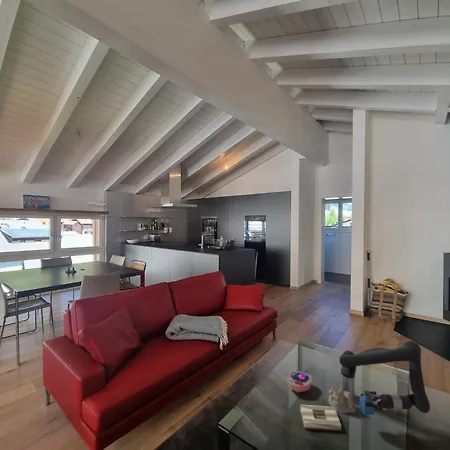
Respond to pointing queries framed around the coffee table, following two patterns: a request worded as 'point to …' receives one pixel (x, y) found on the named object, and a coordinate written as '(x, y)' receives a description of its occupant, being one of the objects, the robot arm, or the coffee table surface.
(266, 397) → the coffee table surface
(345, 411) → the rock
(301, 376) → the cell model
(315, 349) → the coffee table surface
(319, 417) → the socket plinth
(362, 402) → the perfume bottle
